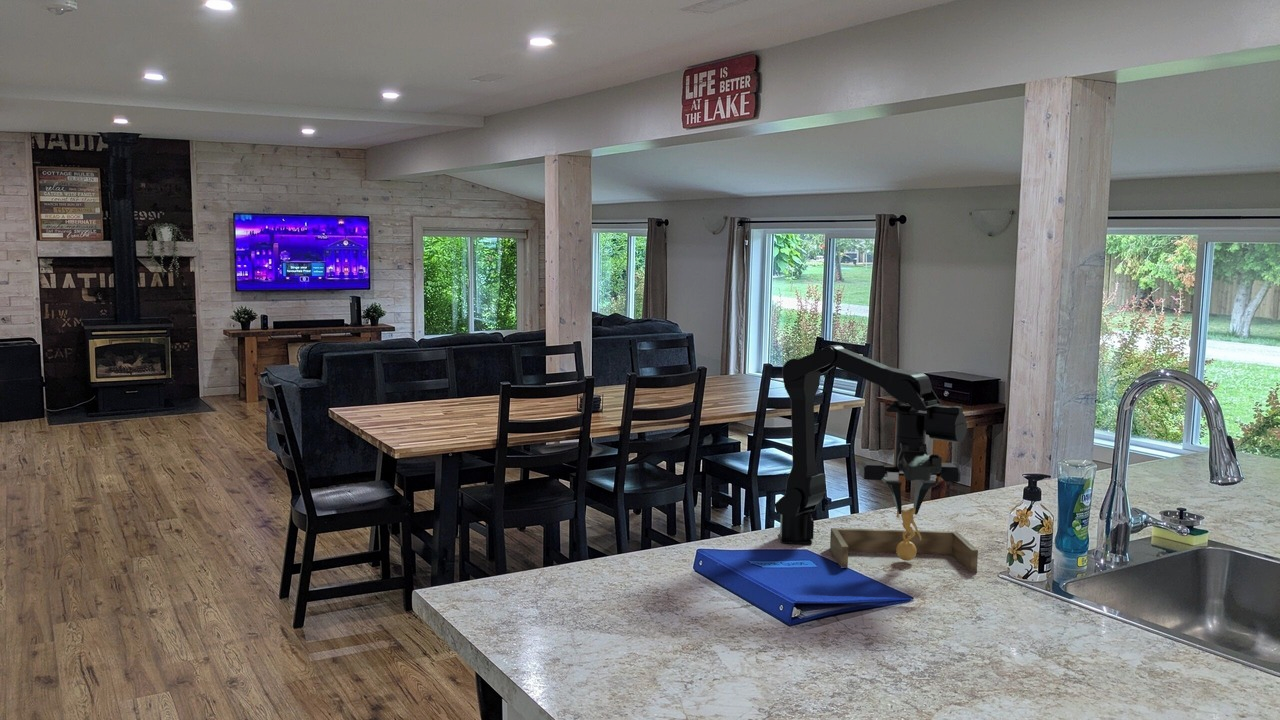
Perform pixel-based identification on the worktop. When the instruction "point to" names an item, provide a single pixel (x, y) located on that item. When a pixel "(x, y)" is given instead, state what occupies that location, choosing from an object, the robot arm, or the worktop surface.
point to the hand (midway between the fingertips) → (907, 514)
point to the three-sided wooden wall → (890, 539)
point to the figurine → (907, 548)
